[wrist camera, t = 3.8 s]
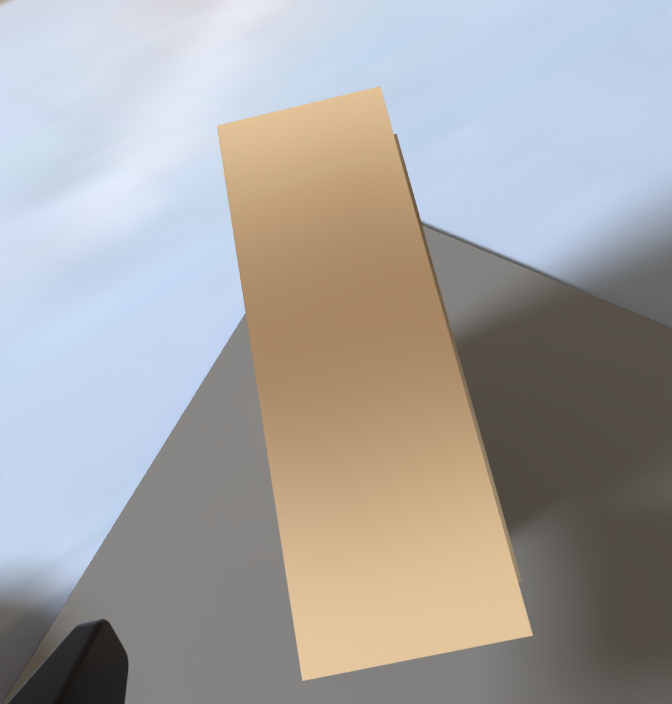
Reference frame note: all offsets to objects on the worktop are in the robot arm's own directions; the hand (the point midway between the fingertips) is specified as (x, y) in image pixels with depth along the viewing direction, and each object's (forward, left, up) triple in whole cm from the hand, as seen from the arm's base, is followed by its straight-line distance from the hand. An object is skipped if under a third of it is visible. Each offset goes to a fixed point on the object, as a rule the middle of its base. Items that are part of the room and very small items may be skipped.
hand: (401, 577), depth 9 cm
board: (+2, -2, -9) cm, 10 cm away
